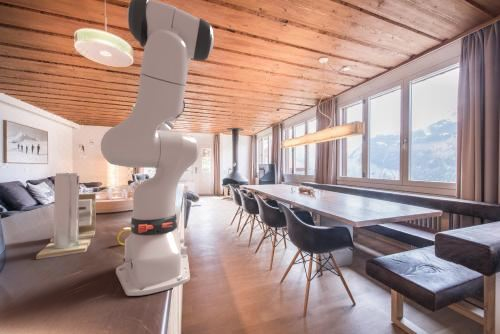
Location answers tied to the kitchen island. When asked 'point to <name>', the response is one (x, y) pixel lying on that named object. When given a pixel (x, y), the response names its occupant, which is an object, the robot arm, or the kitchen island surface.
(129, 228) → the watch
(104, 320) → the kitchen island surface
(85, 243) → the dock pad
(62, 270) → the kitchen island surface
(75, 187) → the white tall cylinder
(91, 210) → the mounted unit
